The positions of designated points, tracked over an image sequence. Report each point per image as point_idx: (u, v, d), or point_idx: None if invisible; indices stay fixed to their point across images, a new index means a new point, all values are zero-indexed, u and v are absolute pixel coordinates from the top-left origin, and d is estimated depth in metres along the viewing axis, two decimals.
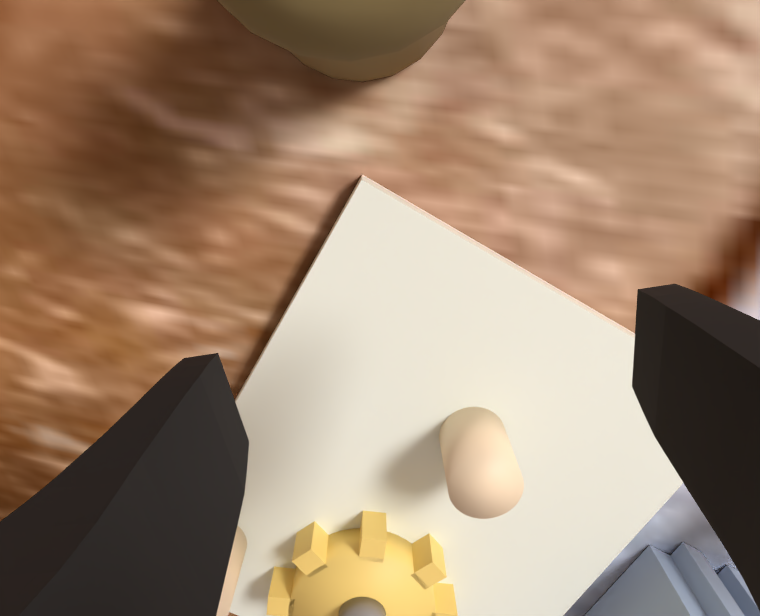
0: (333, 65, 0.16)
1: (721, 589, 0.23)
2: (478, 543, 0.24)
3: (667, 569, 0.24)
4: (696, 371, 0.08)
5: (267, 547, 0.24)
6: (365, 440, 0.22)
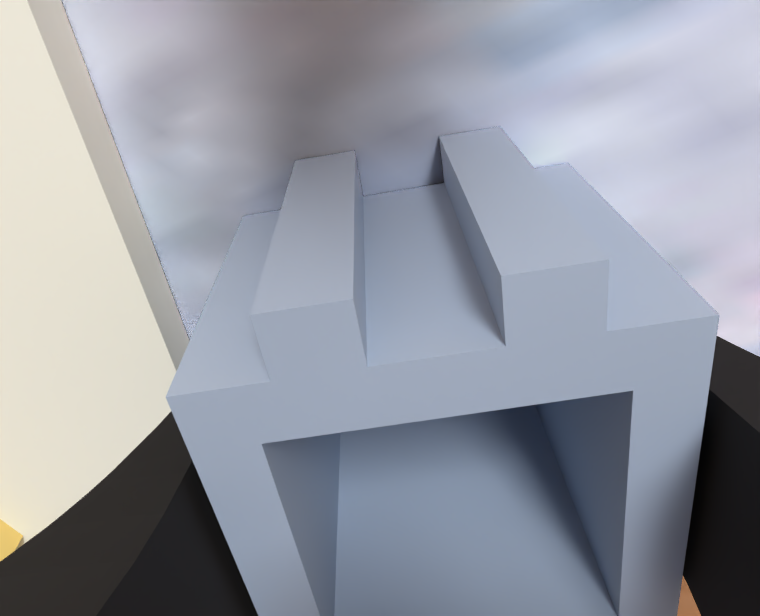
0: None
1: (321, 203, 0.08)
2: None
3: (250, 241, 0.10)
4: None
5: None
6: None
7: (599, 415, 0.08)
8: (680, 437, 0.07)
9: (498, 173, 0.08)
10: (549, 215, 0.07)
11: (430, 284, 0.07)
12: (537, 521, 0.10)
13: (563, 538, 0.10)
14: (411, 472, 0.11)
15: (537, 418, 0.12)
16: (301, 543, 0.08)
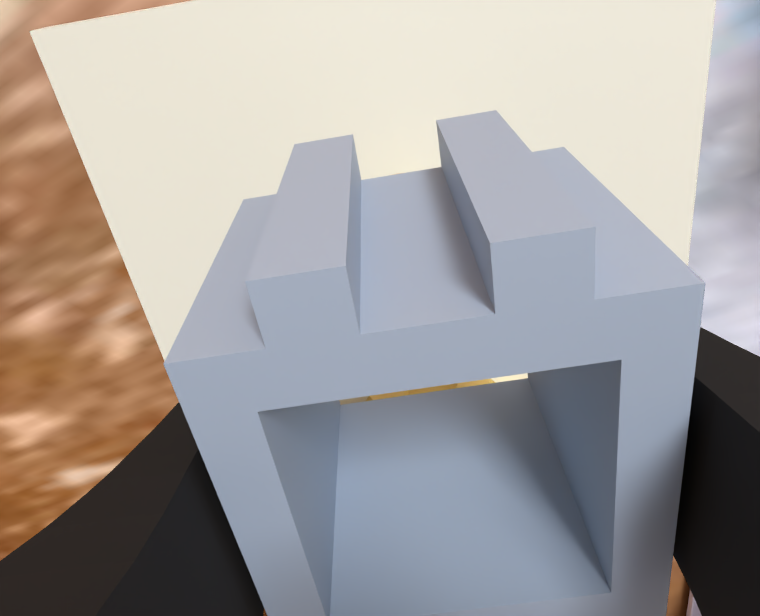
0: None
1: (319, 180, 0.08)
2: None
3: (249, 222, 0.10)
4: None
5: None
6: None
7: (591, 389, 0.08)
8: (669, 407, 0.07)
9: (492, 152, 0.08)
10: (540, 188, 0.07)
11: (424, 258, 0.08)
12: (532, 500, 0.10)
13: (558, 516, 0.10)
14: (409, 454, 0.12)
15: (534, 402, 0.12)
16: (297, 514, 0.08)
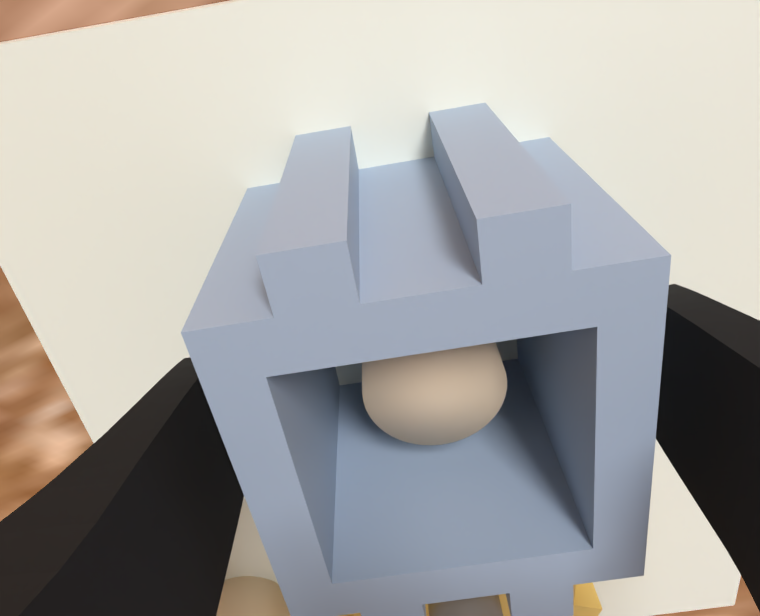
0: None
1: (319, 168, 0.09)
2: None
3: (254, 209, 0.10)
4: (696, 371, 0.08)
5: None
6: None
7: (573, 359, 0.09)
8: (641, 371, 0.08)
9: (480, 140, 0.09)
10: (523, 172, 0.07)
11: (417, 238, 0.08)
12: (521, 469, 0.11)
13: (545, 483, 0.10)
14: None
15: (524, 380, 0.13)
16: (302, 476, 0.09)
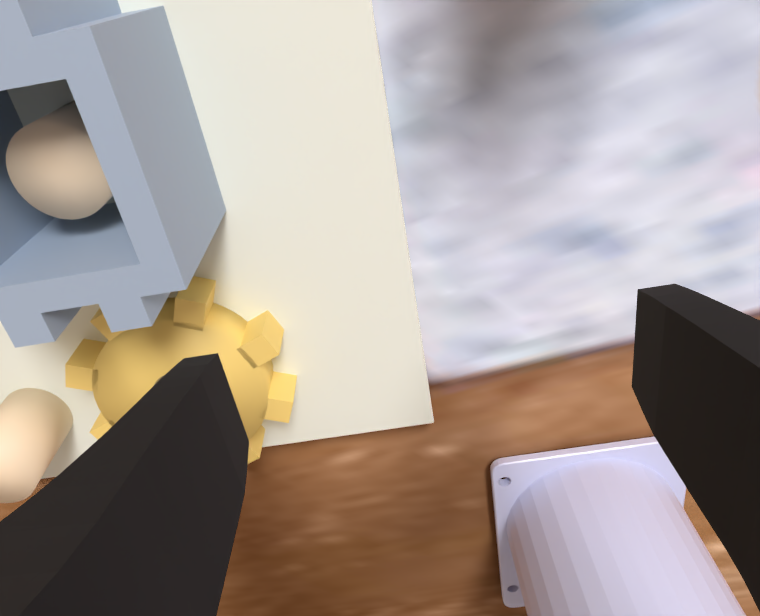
0: None
1: None
2: (242, 250, 0.19)
3: None
4: (696, 371, 0.08)
5: (79, 390, 0.22)
6: None
7: None
8: (109, 114, 0.12)
9: None
10: None
11: None
12: None
13: None
14: (83, 227, 0.17)
15: None
16: None
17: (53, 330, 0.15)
